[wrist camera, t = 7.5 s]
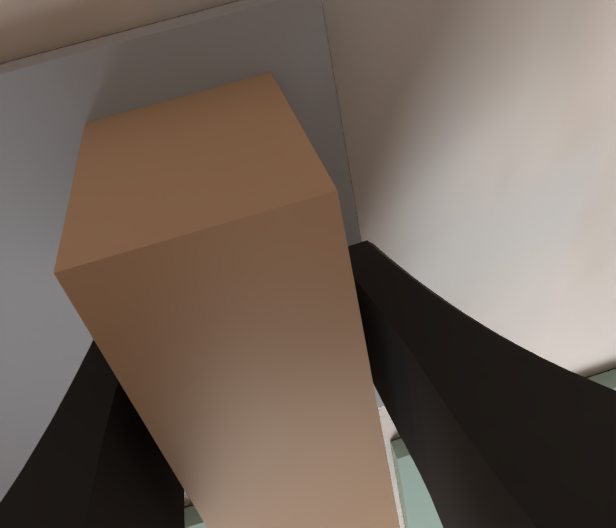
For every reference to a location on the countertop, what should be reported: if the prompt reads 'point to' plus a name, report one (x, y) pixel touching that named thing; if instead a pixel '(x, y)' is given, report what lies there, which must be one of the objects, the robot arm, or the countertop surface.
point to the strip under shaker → (195, 260)
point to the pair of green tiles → (408, 482)
